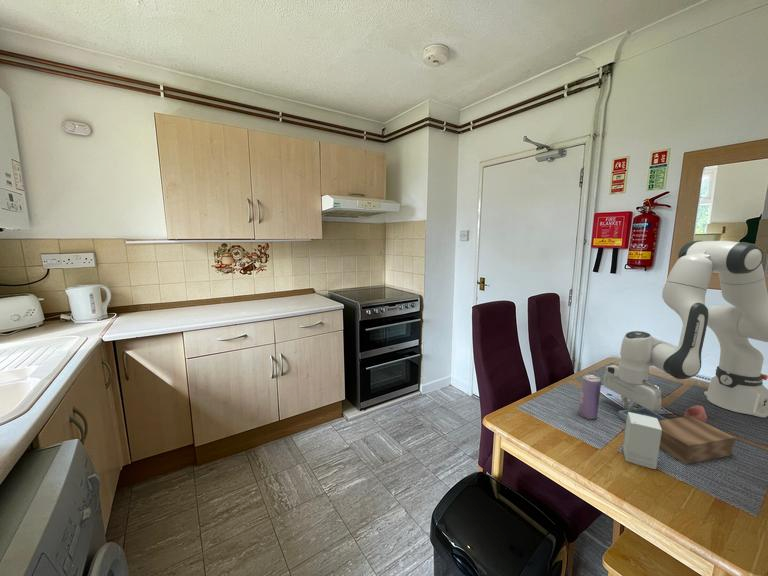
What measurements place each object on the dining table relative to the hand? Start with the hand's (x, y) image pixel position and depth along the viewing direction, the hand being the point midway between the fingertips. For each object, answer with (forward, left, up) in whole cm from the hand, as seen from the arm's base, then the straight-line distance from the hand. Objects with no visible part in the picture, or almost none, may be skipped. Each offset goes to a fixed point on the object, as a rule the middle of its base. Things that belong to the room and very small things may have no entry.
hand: (628, 409), depth 122 cm
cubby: (0, +20, -2) cm, 20 cm away
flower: (-17, +10, -2) cm, 20 cm away
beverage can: (+16, -2, -2) cm, 16 cm away
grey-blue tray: (0, +11, -2) cm, 11 cm away
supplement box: (+20, +21, -2) cm, 29 cm away
